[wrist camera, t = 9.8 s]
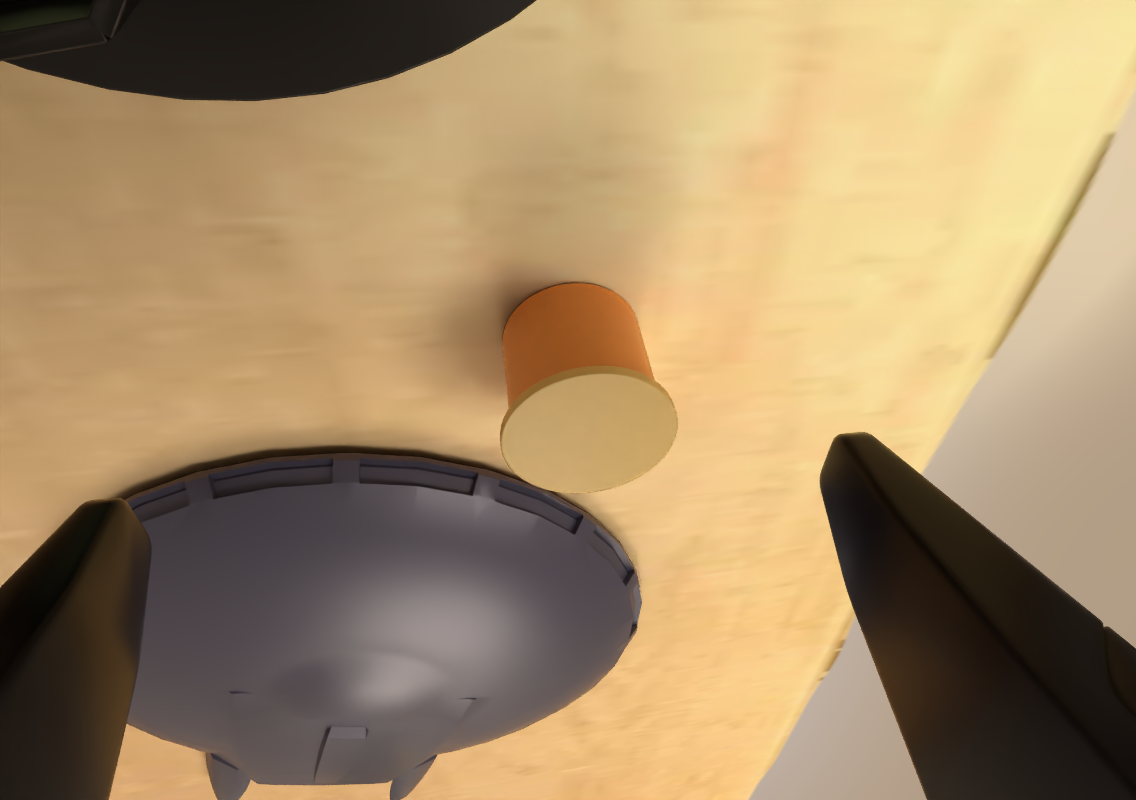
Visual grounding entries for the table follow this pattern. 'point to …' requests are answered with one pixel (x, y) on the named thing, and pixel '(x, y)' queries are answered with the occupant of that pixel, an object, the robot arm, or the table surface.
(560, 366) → the coffee pod
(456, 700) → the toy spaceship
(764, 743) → the table surface
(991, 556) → the robot arm
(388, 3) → the cup holder
